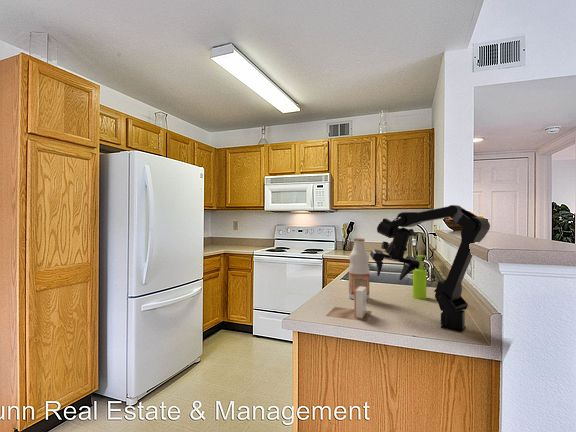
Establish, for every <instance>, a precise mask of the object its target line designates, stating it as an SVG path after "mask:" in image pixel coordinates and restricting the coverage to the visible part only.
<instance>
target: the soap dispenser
mask: <svg viewBox="0 0 576 432" xmlns="http://www.w3.org/2000/svg"><path fill="white" fill-rule="evenodd" d="M415 258H417V260H418V261H419V262H420V266H419V269H416V268H415V270H412V298H414V299H417V300H426V299H427V270H426V269H425V268H424V262H422V258H426V259H427V258H429V256H428V255H422V254H420V255H419V254H418V255H415Z"/></svg>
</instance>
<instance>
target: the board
mask: <svg viewBox="0 0 576 432" xmlns="http://www.w3.org/2000/svg"><path fill="white" fill-rule="evenodd" d="M371 313H372V310H371V311H370V310H366V314H365V315H364V317H363V318H356V317H354V308H346V307H340V306H339V307H338V306H334V307H333V308H332V309H331V310H330V311H329V312H328V313H327V314H326V315H325V317H332V318H339V319H346V320H347V319H348V320H355V321H361V322H367V320H368V318H369V317H370V315H371Z"/></svg>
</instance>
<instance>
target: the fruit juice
mask: <svg viewBox="0 0 576 432" xmlns="http://www.w3.org/2000/svg"><path fill="white" fill-rule="evenodd" d="M353 243H354V245H353V248H352V251H351V252H350V254H349V255H348V258H349V262H350V263H349V266H348V267H349V268H348V297H349V299H350V300H354V290H355V289H356V288H357V287H358V286H362V287H366V301H367V300H369V299H370V266H369V261H370V255H369V253H368V252H367V250H366V246H365V238H361V237H360V238H359V237H356V238H353Z"/></svg>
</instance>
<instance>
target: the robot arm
mask: <svg viewBox="0 0 576 432" xmlns="http://www.w3.org/2000/svg"><path fill="white" fill-rule="evenodd" d="M449 218H451V219H452V220H453V221H454V222H455V223H456V224H458V225H459V226H460V227H461V228H460V229H461V231H460V238H461V239H460V244H459V247H458V249H457V252H456V254H455V257H454V259H453V262H452V264H451V267H450V269H449V272H448V274H447V277H446V279H443V280H439V281H438V282H437V284H436V288H435V290H433V292H434V299H435V300H436V302H437V303H438V307H439V309H440V311H442V312H441V313H440V325H441V326H440V328H441V329H444V330H448V331H453V332H458V333H462V331H463V330H464V331H465V330H466V328H467V326H466V324H465V323H466V322H465V319H466V318H465V317H466V315H465V313H466V312H465V310H467V308H468V307H469V304H468V302H467V301H466V300H465V299H464V298H463V297H462V293H463V292H462V291H463V286H462V285H463V283H462V282H463V280H464V278H465V277H464V276H465V274H466V273H467V270H468V267H469V265H470V262H471V260H472V258H473V256H474V254H473V255H471V253H470V249H469V244H470V243H475V242H479V243H481V242H482V240H483V239H484V238H485V236H486V235H487V234H488V232H490V231H489V230H490V228H491V224H490V223H489V221H488V219H487V218H485V217H482V216H477V215H476V214H474V213H472V212H470V211H468V210H466V209H465V208H463V207H462V206H460V205H456V204H452V205H451V204H450V205H448V206H444V207H439V208H433V209H428V210H424V211H416V212H415V211H414V212H413V211H411V212H410V211H409V212H408V211H404V212H403V211H401V212H398V214H397V216H396V217H395V218H394V219H393V220H390V219H388V218H382V221H381V222H379V224H378V225H377V228H376V232H377V233H378V234H380V235H382V236H384V237H385V238H388V239H392V241H390V244H389V242H388V241H382V243H381V249H382V250H384V252H385V253H383V251H382V250H381V249H380V250H379V249H374V248H373V249H372V250H370V255H369V256H370V258H372V261H373V260H374V262H375V263H376V274H377V277H379V276H380V274H381V272H382V271H381V270H382V268H383V265H384V263H383V261H384V260H388V261H393V262H397V263H398V262H399V263H403V264H402V265H403V266H402V270H401V272H400V275H399V277H398V278H399V279H398V280H399V281H401V280H403V279H404V278H405V277H406V276H407V275H408V274H409V273H411V272H413V270H415V269H419V266H420V262H419V261H418V258H417V257H416V256H415V257H414V256H410V255H407V256H405V253H406V252H407V251H408V247H407V246H408V244H409V239H410V237H415V236H416V235H417V234H416V232H415V231H414V229H413V227H416V226H419V225H421V224H422V223H425V222H431V221H436V220H437V221H438V220H443V219H449ZM404 256H405V257H404Z"/></svg>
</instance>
